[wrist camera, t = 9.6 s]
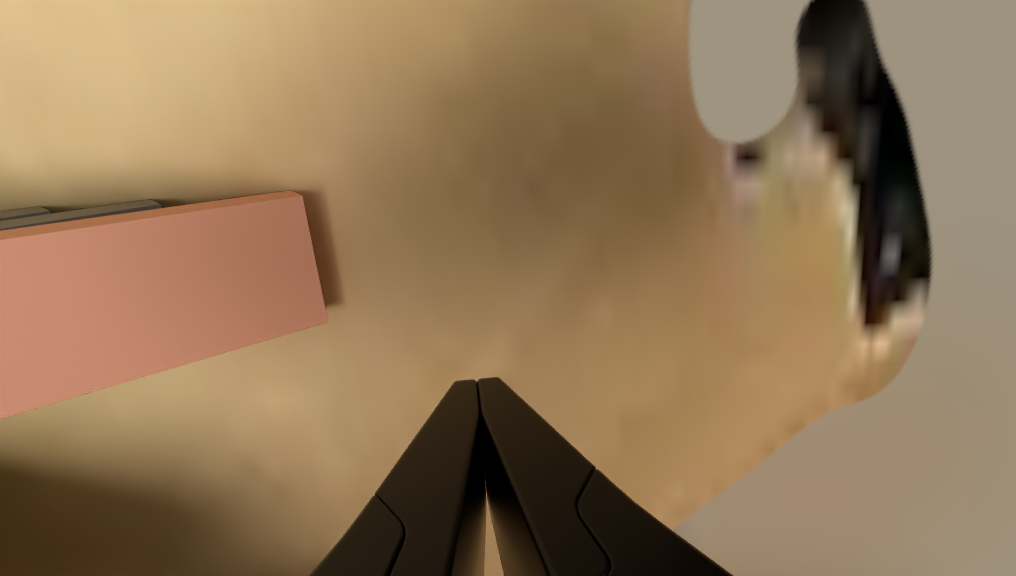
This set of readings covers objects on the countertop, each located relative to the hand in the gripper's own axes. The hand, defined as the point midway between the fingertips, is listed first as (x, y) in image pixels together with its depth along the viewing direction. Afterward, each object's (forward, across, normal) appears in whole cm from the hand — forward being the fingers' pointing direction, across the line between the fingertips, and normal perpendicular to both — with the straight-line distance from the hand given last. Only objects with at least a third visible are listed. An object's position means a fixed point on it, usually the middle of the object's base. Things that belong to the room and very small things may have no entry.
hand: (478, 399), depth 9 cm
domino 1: (+11, +6, 0) cm, 12 cm away
